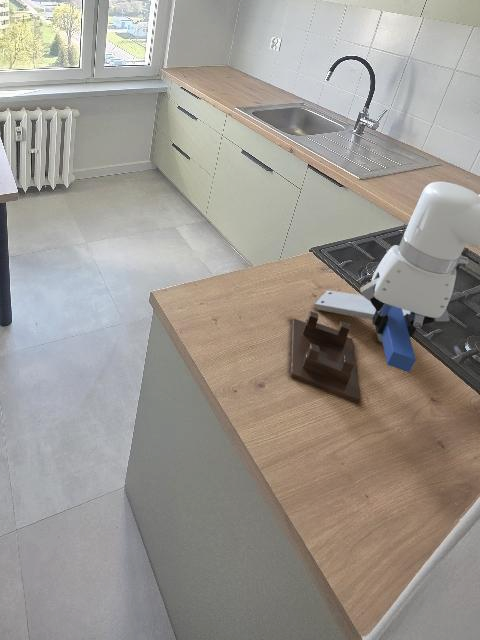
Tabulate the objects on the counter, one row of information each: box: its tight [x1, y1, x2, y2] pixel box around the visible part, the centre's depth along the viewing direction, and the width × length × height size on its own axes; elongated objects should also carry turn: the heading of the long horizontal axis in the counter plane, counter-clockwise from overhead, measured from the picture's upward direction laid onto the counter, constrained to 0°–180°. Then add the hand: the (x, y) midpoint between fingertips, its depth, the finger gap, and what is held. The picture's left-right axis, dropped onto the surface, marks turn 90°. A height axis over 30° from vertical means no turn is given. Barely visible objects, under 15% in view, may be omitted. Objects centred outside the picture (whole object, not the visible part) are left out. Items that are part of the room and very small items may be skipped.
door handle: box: [314, 289, 410, 344], centre depth 97 cm, size 18×8×20 cm
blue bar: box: [381, 306, 417, 373], centre depth 76 cm, size 3×16×3 cm, turn 156°
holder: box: [290, 310, 361, 403], centre depth 87 cm, size 12×15×7 cm
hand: (389, 331), depth 76 cm, fingers closed on blue bar, 3 cm apart
